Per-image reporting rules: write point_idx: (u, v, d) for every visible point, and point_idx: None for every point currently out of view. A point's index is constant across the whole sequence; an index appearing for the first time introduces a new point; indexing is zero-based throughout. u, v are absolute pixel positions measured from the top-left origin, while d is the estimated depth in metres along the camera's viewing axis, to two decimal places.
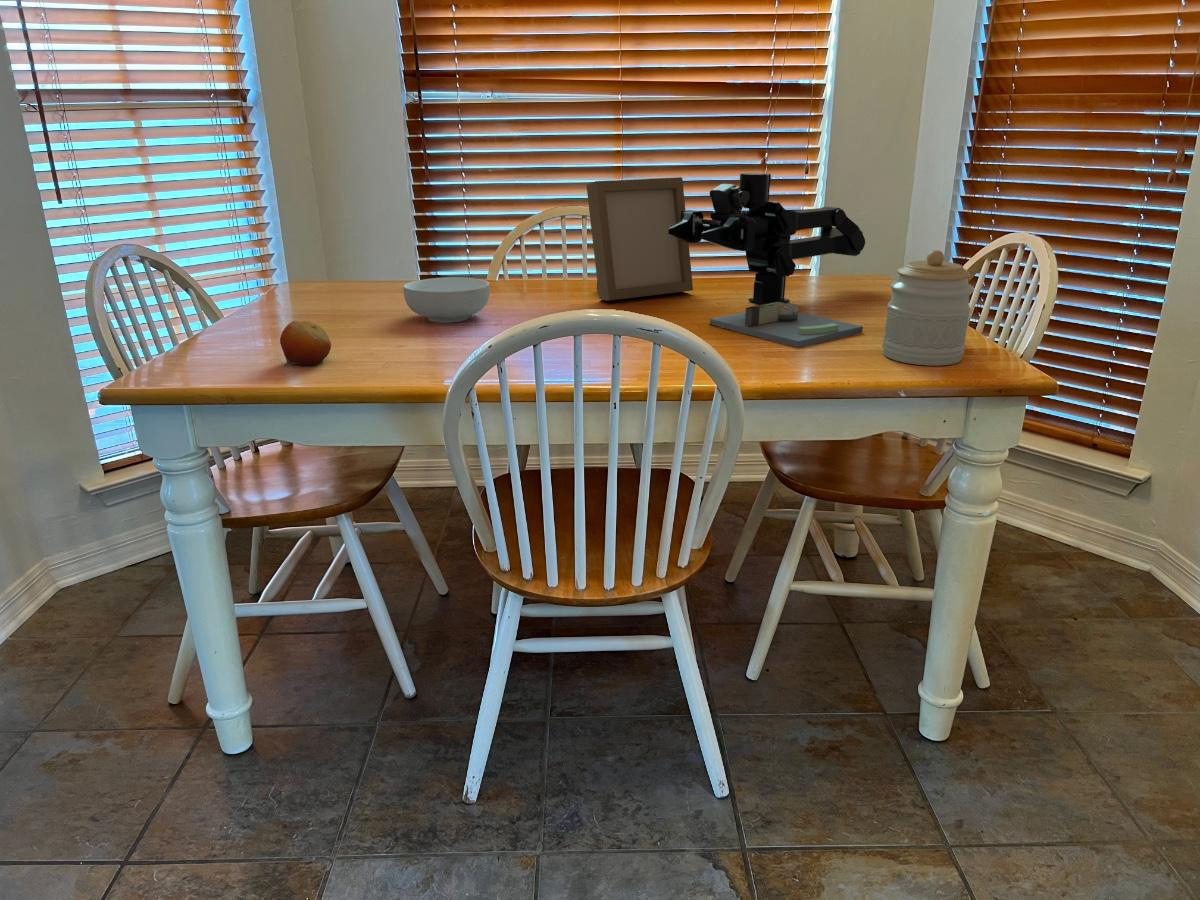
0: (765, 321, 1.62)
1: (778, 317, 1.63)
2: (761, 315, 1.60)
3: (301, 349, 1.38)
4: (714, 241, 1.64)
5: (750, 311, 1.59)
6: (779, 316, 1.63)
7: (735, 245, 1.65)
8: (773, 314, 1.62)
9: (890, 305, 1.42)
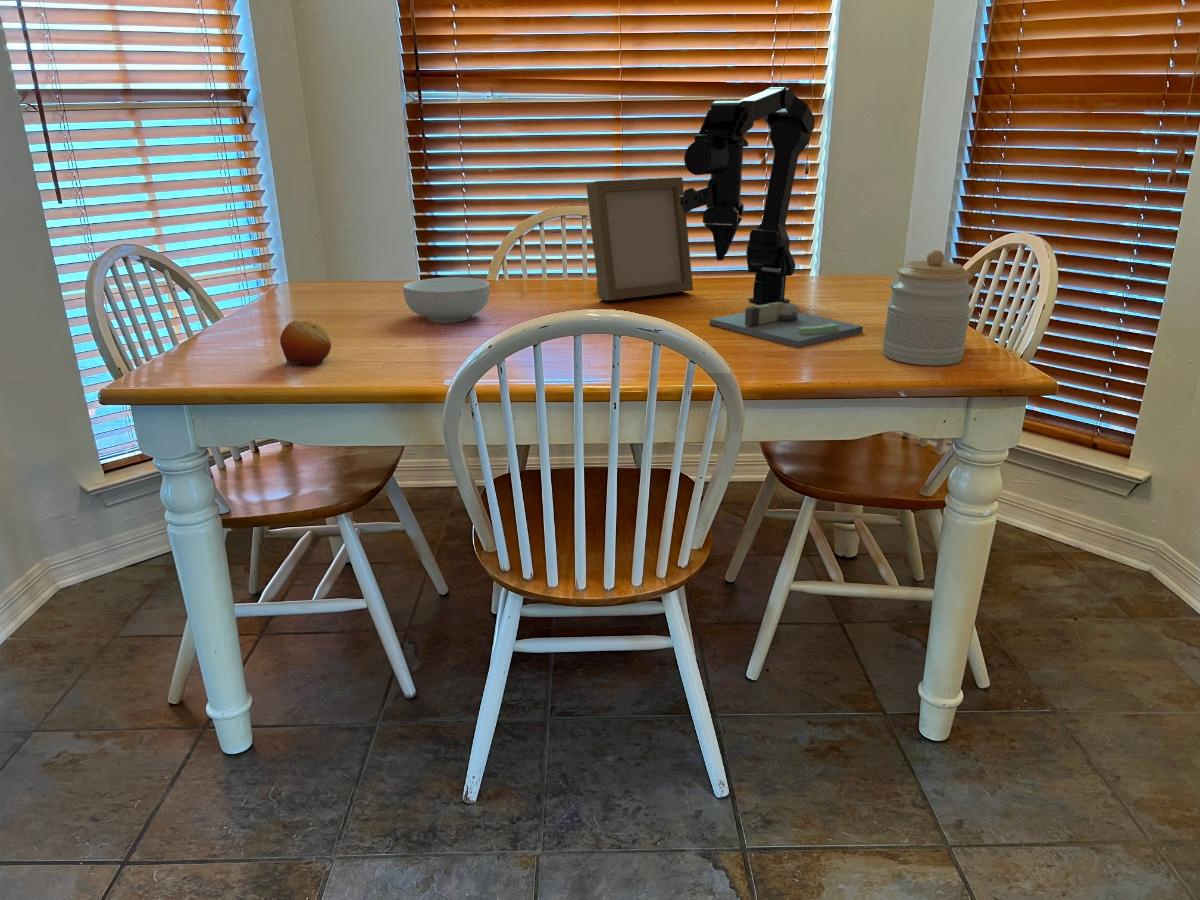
0: (765, 321, 1.62)
1: (778, 317, 1.63)
2: (761, 315, 1.60)
3: (301, 349, 1.38)
4: (726, 247, 1.61)
5: (750, 311, 1.59)
6: (779, 316, 1.63)
7: None
8: (773, 314, 1.62)
9: (890, 305, 1.42)
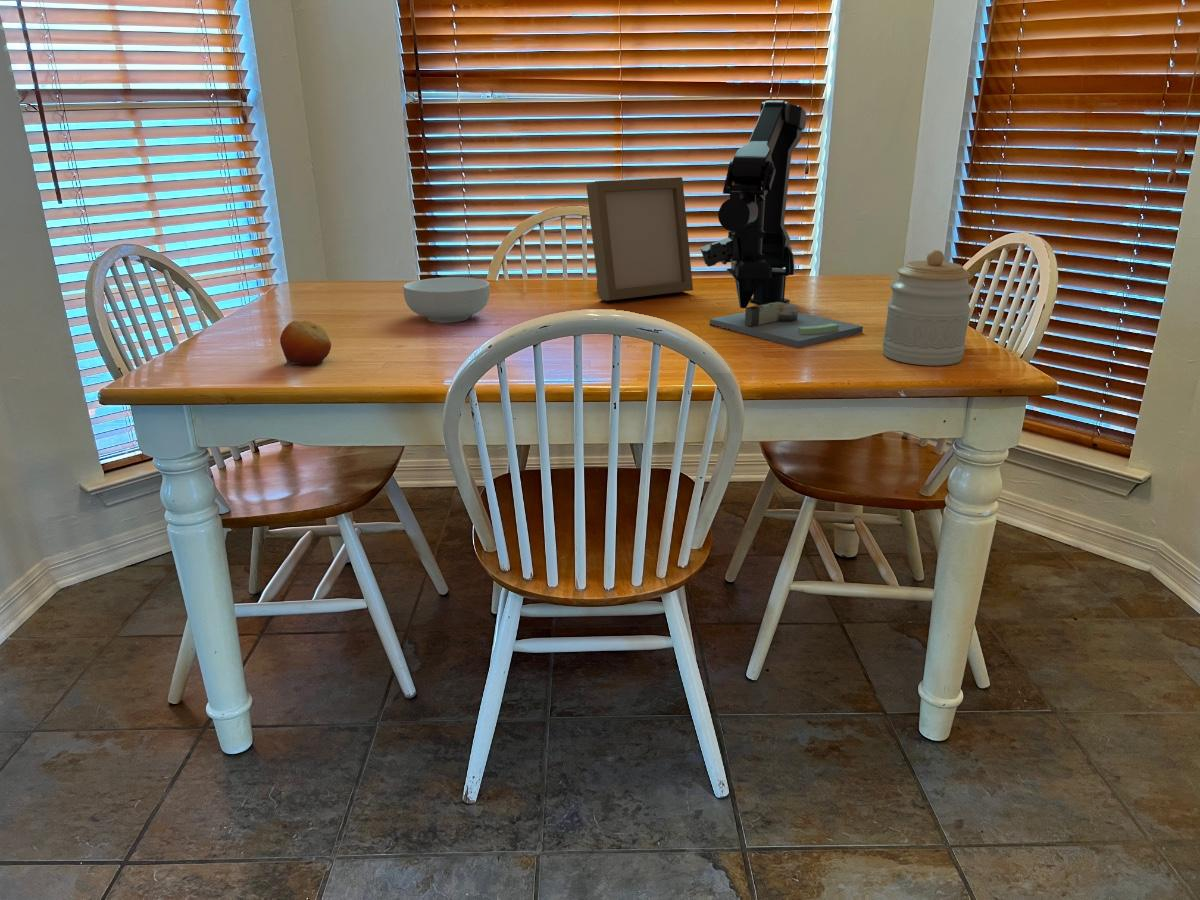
0: (765, 321, 1.62)
1: (778, 317, 1.63)
2: (761, 315, 1.60)
3: (301, 349, 1.38)
4: (750, 295, 1.65)
5: (750, 311, 1.59)
6: (779, 316, 1.63)
7: None
8: (773, 314, 1.62)
9: (890, 305, 1.42)
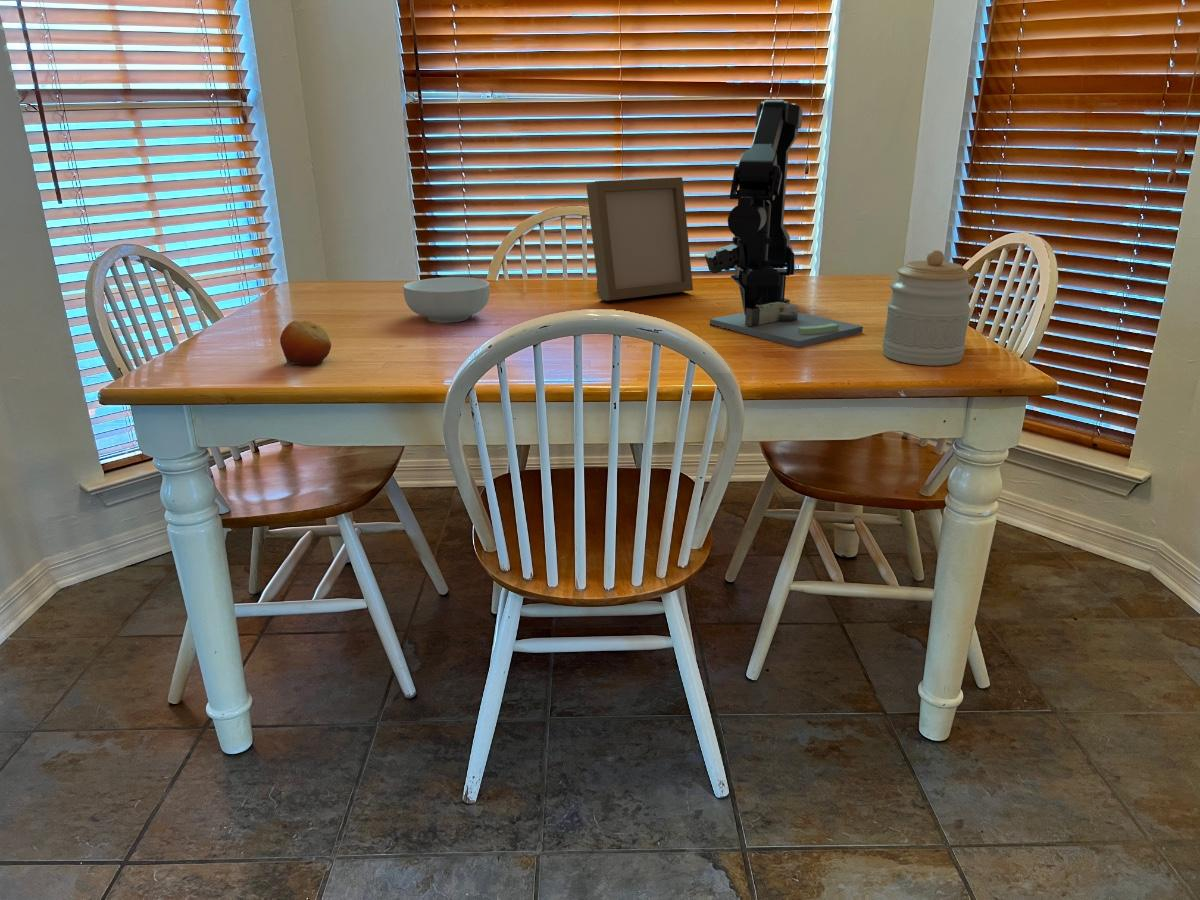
0: (765, 321, 1.61)
1: (778, 317, 1.63)
2: (761, 315, 1.60)
3: (301, 349, 1.38)
4: (756, 303, 1.61)
5: (750, 311, 1.59)
6: (779, 316, 1.63)
7: None
8: (773, 314, 1.62)
9: (890, 305, 1.42)
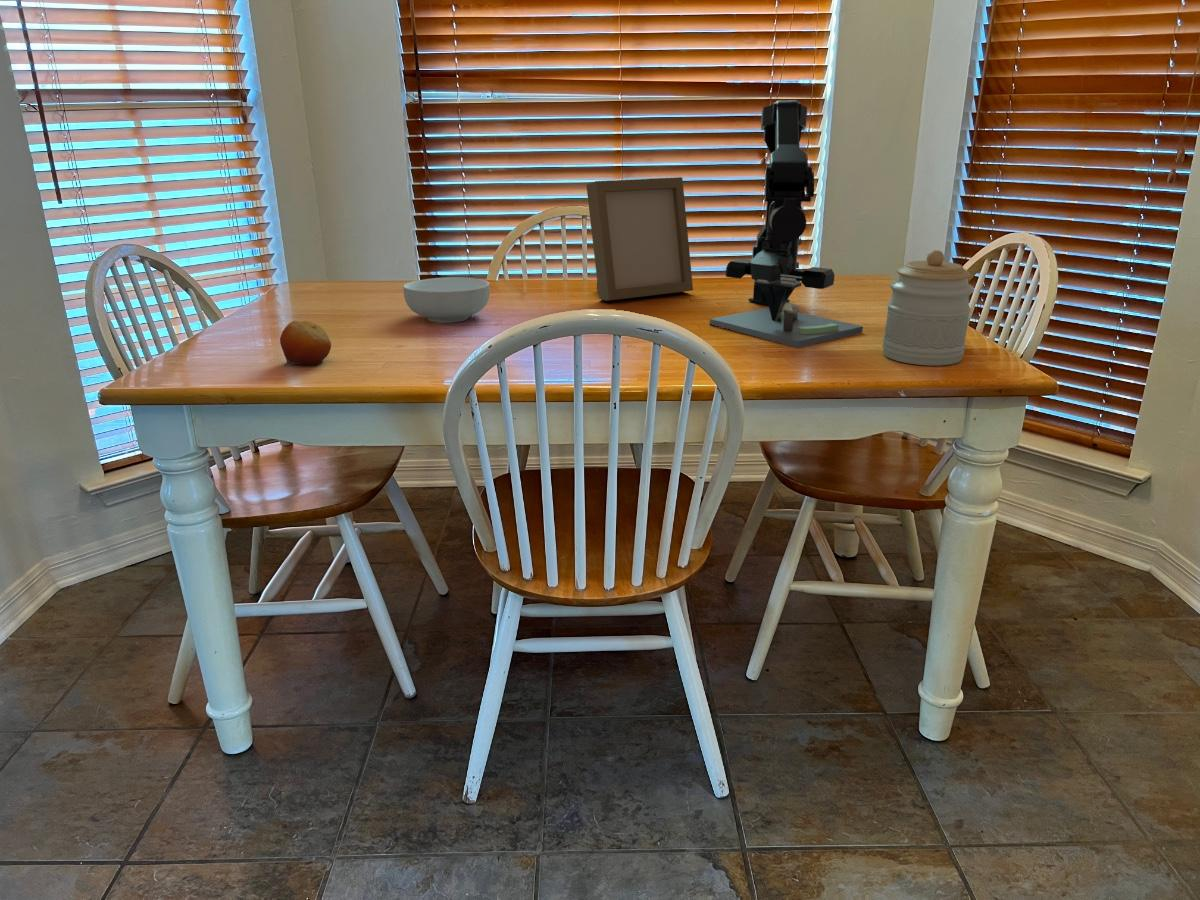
0: None
1: None
2: None
3: (301, 349, 1.38)
4: (783, 306, 1.58)
5: (791, 315, 1.55)
6: None
7: None
8: None
9: (890, 305, 1.42)
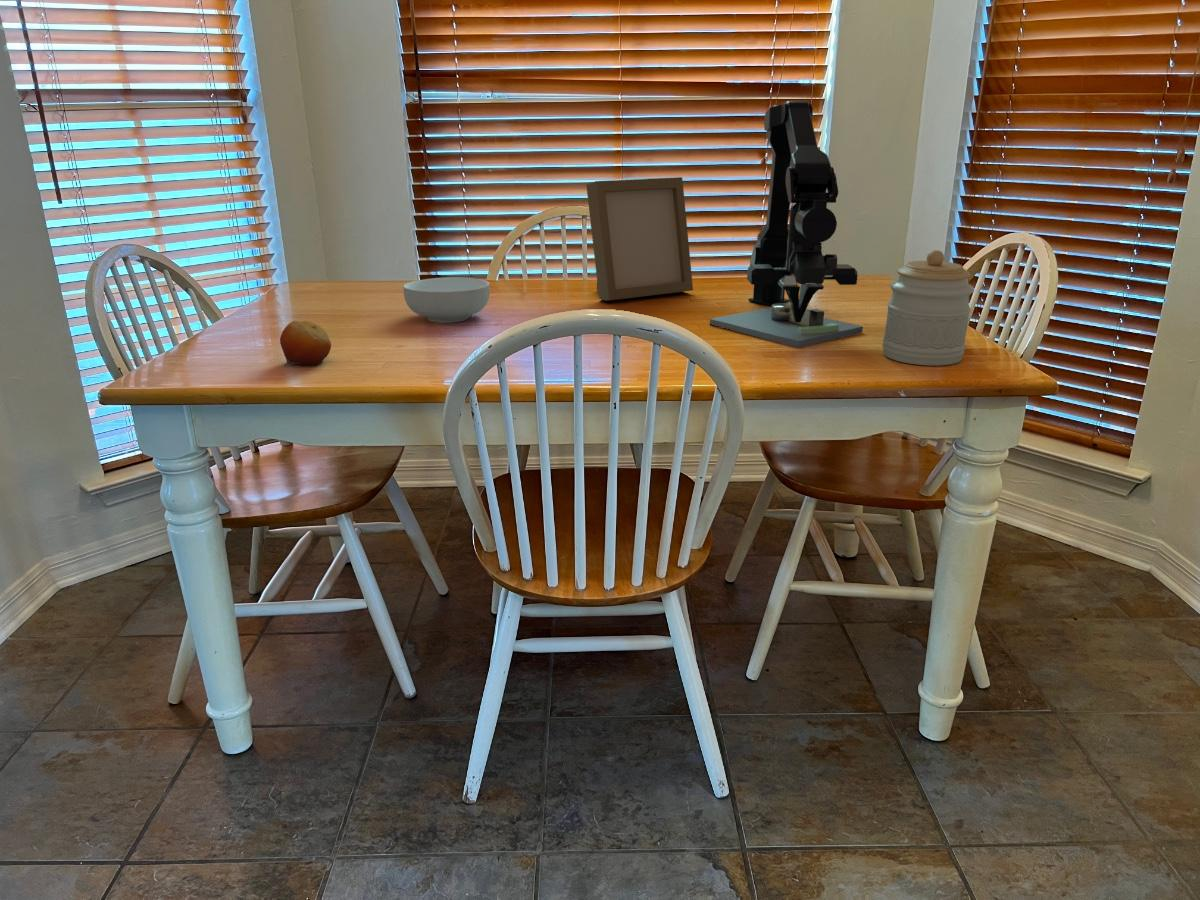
0: None
1: None
2: None
3: (301, 349, 1.38)
4: None
5: (822, 314, 1.57)
6: None
7: None
8: None
9: (890, 305, 1.42)
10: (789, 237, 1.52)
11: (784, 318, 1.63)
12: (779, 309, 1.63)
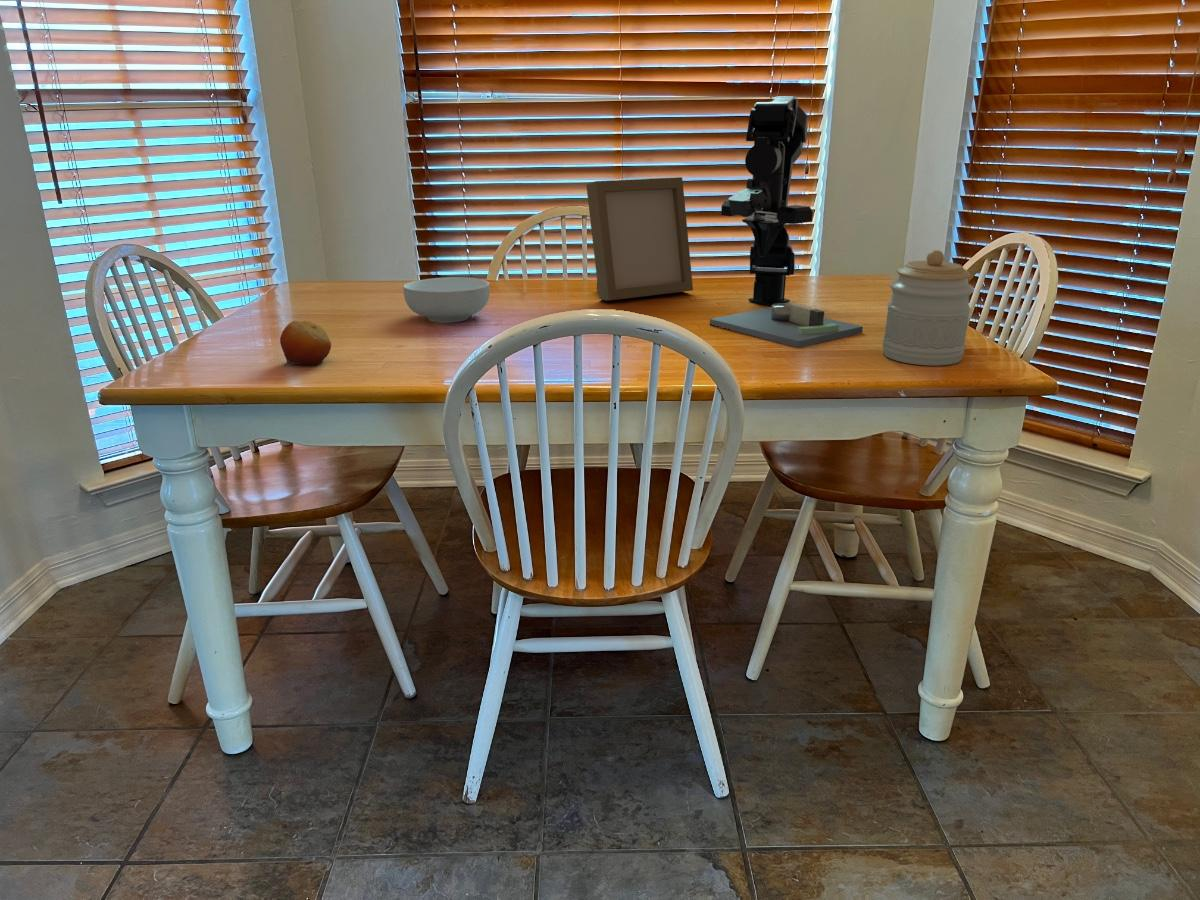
0: None
1: None
2: None
3: (301, 349, 1.38)
4: (771, 243, 1.68)
5: (822, 314, 1.57)
6: None
7: (783, 223, 1.66)
8: None
9: (890, 305, 1.42)
10: None
11: (784, 318, 1.63)
12: (779, 309, 1.63)
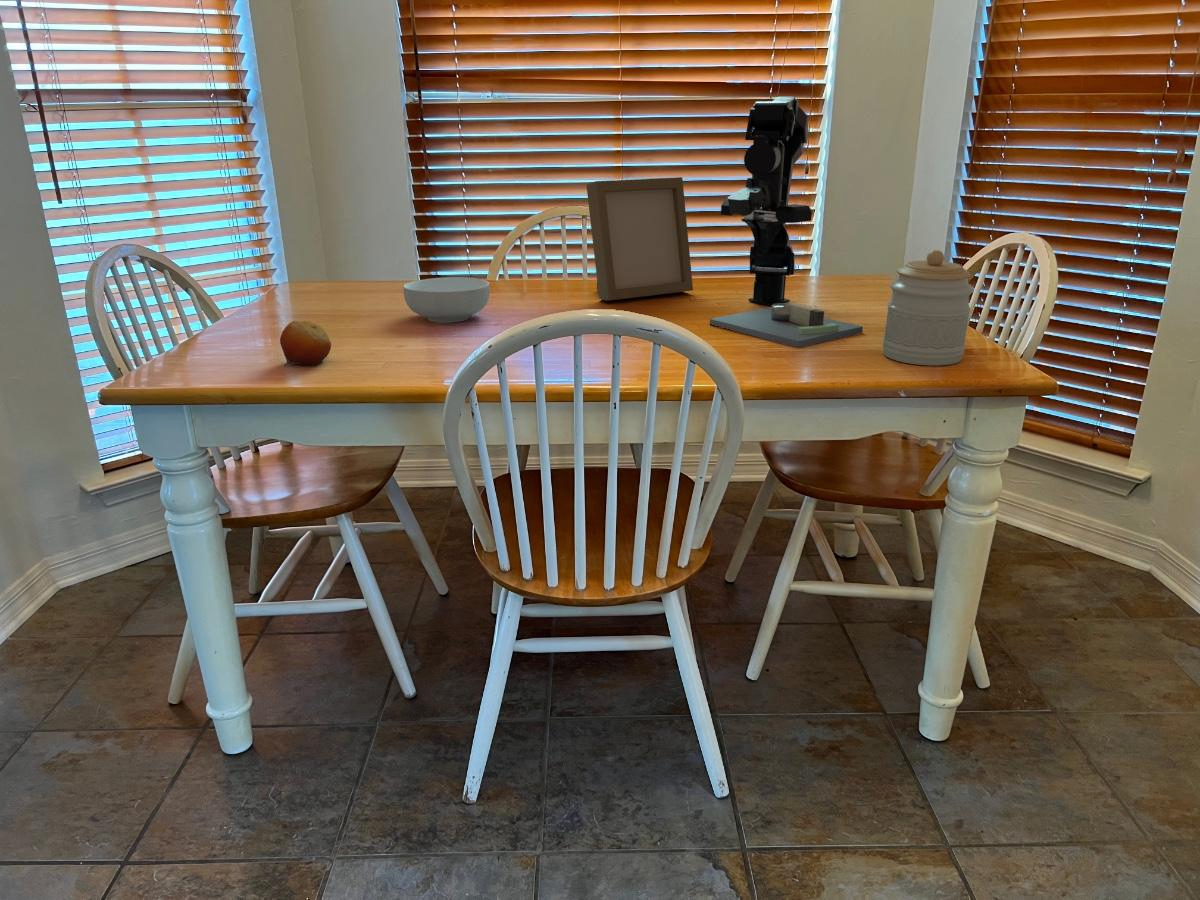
0: None
1: None
2: None
3: (301, 349, 1.38)
4: (771, 242, 1.68)
5: (822, 314, 1.57)
6: None
7: (782, 222, 1.66)
8: None
9: (890, 305, 1.42)
10: None
11: (784, 318, 1.63)
12: (779, 309, 1.63)
